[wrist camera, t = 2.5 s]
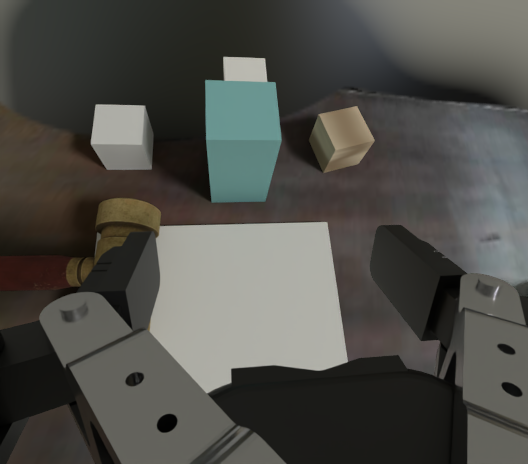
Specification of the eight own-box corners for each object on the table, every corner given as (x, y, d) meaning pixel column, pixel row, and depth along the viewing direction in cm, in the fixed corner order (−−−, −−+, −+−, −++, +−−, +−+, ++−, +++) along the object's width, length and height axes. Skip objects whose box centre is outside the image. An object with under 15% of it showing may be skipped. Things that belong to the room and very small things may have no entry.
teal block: (211, 202, 30) (206, 139, 21) (210, 155, 32) (205, 80, 23) (265, 201, 31) (281, 140, 22) (261, 156, 32) (275, 82, 24)
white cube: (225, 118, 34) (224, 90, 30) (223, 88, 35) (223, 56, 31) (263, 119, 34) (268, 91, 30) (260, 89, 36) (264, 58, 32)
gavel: (-209, 348, 20) (-143, 200, 23) (-126, 348, 24) (-80, 223, 28) (134, 340, 20) (150, 195, 24) (156, 342, 25) (167, 219, 28)
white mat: (80, 413, 23) (77, 415, 23) (100, 230, 28) (97, 227, 27) (349, 388, 26) (351, 389, 25) (325, 224, 31) (327, 222, 30)
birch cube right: (323, 173, 33) (335, 150, 29) (308, 140, 34) (318, 114, 30) (358, 164, 34) (374, 140, 30) (342, 132, 35) (356, 106, 31)
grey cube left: (107, 170, 30) (90, 144, 26) (110, 133, 32) (95, 104, 28) (151, 169, 31) (141, 144, 27) (153, 134, 32) (144, 105, 28)
